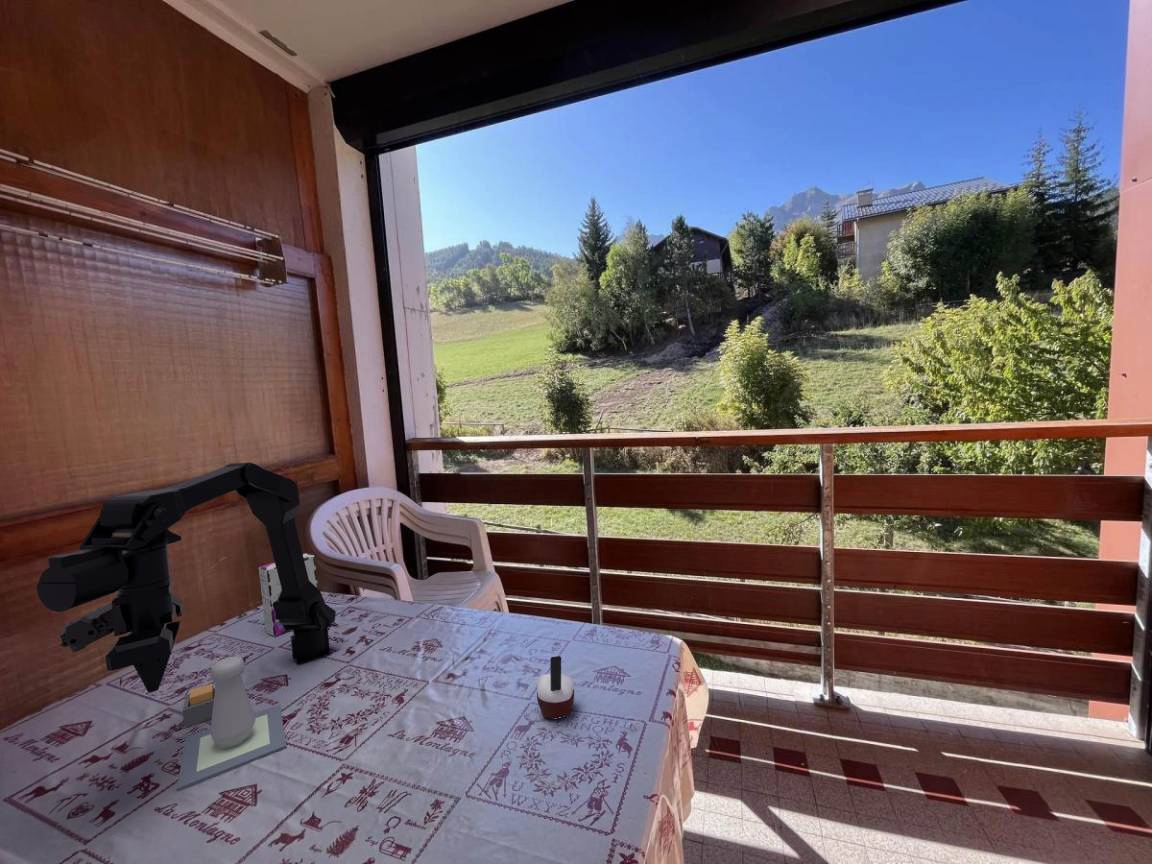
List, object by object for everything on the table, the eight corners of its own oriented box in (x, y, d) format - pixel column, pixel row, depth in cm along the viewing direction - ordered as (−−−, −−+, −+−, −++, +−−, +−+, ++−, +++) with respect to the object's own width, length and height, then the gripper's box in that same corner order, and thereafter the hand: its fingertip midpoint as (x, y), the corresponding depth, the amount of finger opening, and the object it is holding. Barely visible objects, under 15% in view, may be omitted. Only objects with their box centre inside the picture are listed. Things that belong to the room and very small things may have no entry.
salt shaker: (265, 731, 77) (258, 653, 76) (229, 756, 71) (221, 673, 70) (239, 725, 79) (232, 649, 78) (202, 749, 73) (194, 668, 72)
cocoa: (546, 697, 83) (541, 630, 83) (581, 699, 82) (576, 631, 82) (529, 732, 74) (523, 656, 74) (567, 735, 73) (561, 657, 73)
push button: (213, 697, 84) (212, 683, 84) (213, 706, 82) (211, 691, 82) (192, 704, 83) (190, 690, 83) (190, 713, 80) (189, 698, 80)
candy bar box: (311, 614, 122) (305, 552, 121) (321, 618, 119) (316, 555, 118) (263, 633, 113) (257, 566, 112) (273, 638, 110) (267, 569, 109)
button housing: (221, 703, 86) (219, 686, 86) (220, 716, 82) (218, 698, 82) (187, 714, 83) (185, 696, 83) (184, 728, 79) (182, 710, 79)
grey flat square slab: (280, 706, 84) (279, 703, 84) (286, 747, 73) (285, 744, 73) (185, 739, 76) (185, 736, 76) (177, 791, 66) (177, 787, 66)
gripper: (82, 577, 71) (93, 677, 72) (39, 620, 56) (55, 746, 57) (178, 560, 78) (188, 652, 79) (163, 594, 62) (175, 708, 63)
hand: (155, 685), depth 69 cm, fingers open, 3 cm apart
